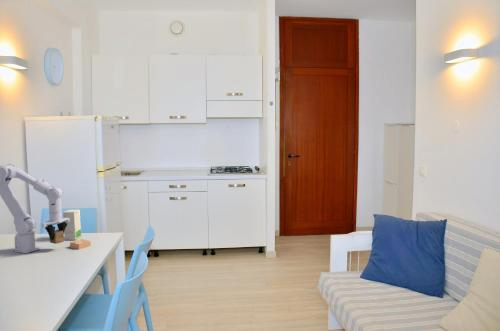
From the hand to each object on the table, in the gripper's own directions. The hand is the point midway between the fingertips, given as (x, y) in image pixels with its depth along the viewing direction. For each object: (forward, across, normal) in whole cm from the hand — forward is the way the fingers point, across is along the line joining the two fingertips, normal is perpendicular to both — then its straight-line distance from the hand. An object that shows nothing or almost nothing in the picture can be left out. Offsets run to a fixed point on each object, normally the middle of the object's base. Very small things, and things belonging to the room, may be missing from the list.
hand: (56, 238), depth 211 cm
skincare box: (+6, +18, +11) cm, 22 cm away
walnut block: (+2, 0, 0) cm, 2 cm away
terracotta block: (+6, +9, -6) cm, 13 cm away
